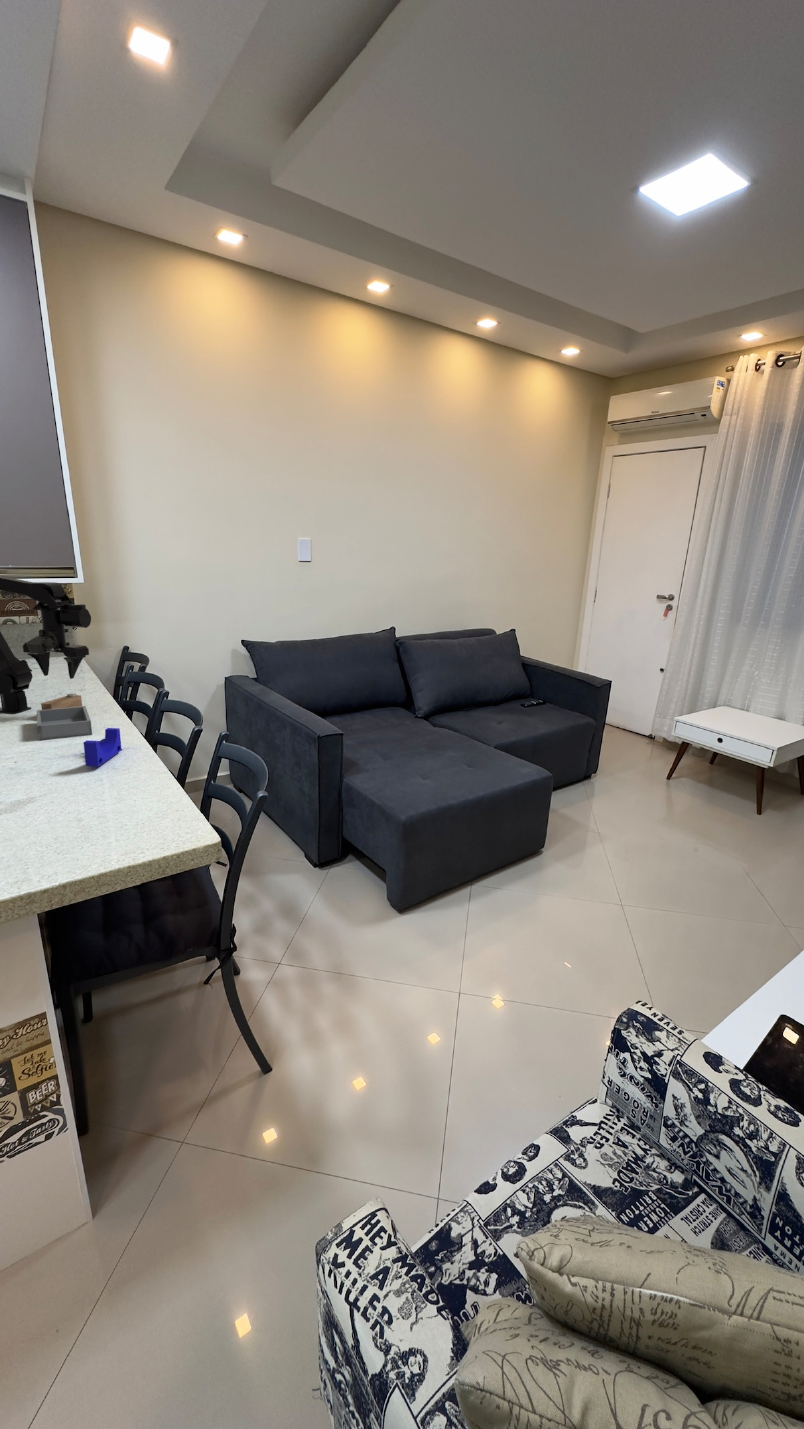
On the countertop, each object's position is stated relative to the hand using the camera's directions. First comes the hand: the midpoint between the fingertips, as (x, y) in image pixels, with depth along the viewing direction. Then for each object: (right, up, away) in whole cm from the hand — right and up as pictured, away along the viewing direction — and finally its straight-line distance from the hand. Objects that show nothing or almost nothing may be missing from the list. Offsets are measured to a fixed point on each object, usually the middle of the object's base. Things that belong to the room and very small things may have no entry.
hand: (58, 677), depth 178 cm
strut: (0, -12, +3) cm, 12 cm away
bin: (+8, -16, -11) cm, 21 cm away
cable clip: (+29, -22, -31) cm, 48 cm away
